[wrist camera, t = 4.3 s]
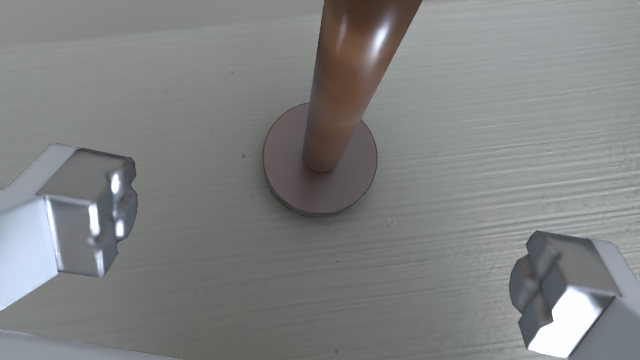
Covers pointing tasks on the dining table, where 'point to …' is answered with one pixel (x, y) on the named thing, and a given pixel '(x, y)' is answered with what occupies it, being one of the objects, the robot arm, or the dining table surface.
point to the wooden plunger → (336, 110)
